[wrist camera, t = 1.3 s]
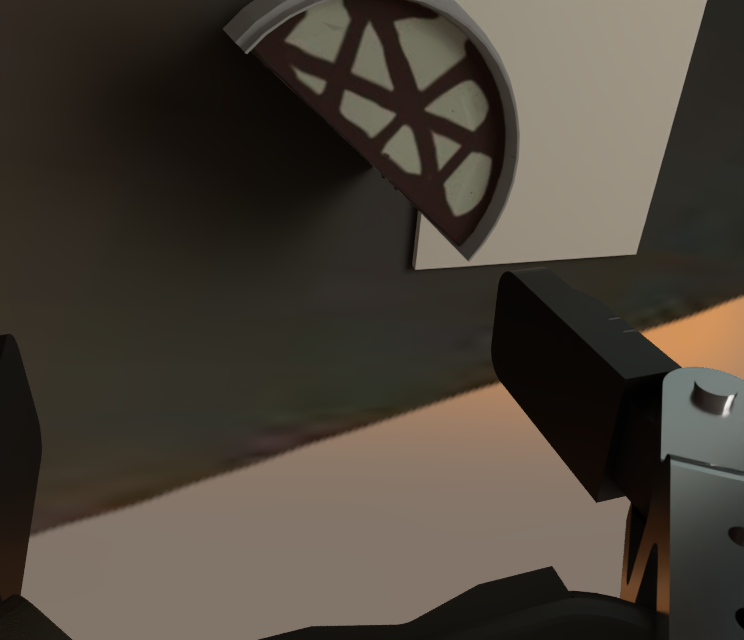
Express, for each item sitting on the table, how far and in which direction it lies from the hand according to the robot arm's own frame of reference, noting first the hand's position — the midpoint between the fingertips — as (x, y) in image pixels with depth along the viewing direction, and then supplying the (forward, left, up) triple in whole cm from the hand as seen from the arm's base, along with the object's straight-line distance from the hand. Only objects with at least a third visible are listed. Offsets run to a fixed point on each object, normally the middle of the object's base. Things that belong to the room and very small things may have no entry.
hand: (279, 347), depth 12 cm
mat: (+18, +1, -22) cm, 29 cm away
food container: (+7, +1, -23) cm, 24 cm away
